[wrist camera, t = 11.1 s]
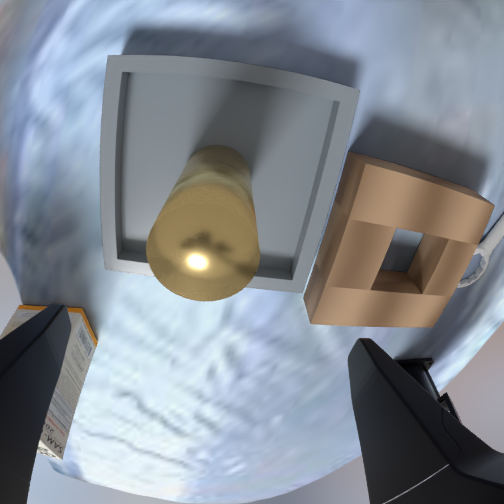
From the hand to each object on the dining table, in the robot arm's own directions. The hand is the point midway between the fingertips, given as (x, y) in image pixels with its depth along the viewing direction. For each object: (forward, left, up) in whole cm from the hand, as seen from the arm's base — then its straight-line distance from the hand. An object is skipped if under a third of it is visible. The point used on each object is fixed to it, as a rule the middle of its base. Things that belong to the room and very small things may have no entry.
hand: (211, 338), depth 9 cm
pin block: (-13, +2, -13) cm, 19 cm away
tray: (+1, -1, -13) cm, 13 cm away
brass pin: (+1, -1, -12) cm, 12 cm away
